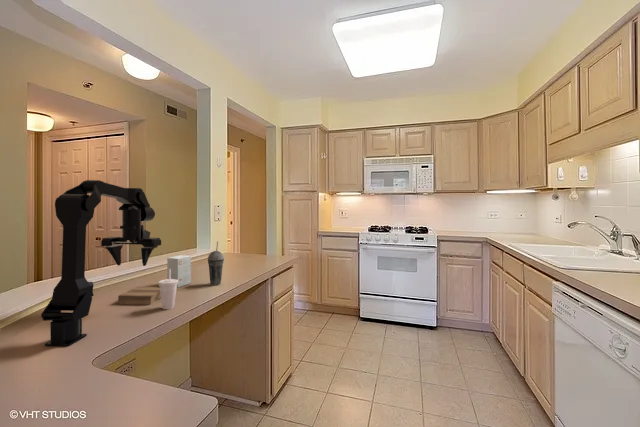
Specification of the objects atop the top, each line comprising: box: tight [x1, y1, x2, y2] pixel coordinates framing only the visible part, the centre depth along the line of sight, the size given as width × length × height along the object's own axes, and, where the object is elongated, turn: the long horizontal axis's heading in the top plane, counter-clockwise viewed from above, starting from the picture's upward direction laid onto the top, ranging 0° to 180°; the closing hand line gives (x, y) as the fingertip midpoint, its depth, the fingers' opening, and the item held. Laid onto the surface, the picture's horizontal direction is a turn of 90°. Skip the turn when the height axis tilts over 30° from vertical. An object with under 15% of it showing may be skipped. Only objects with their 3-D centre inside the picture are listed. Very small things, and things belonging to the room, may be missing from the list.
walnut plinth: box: [117, 286, 161, 305], centre depth 118 cm, size 12×12×3 cm
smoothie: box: [157, 269, 178, 310], centre depth 108 cm, size 6×6×14 cm
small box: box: [166, 254, 192, 289], centre depth 138 cm, size 8×6×13 cm
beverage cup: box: [207, 241, 225, 286], centre depth 140 cm, size 7×7×20 cm
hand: (131, 265), depth 109 cm, fingers open, 9 cm apart
